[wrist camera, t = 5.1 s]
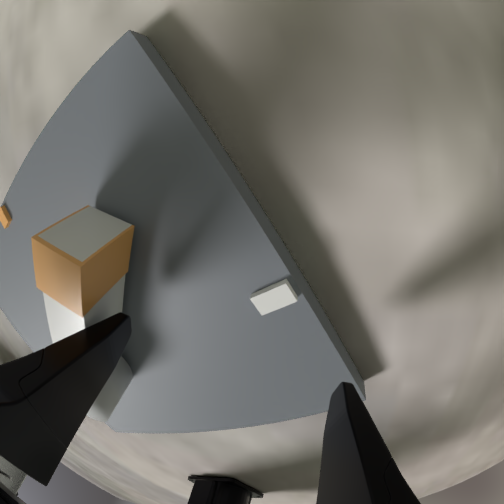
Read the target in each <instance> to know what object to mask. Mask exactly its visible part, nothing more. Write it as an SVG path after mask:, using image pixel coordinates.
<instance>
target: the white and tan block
mask: <svg viewBox="0 0 504 504" xmlns="http://www.w3.org/2000/svg"><path fill="white" fill-rule="evenodd" d="M134 227H135V226H134V225H132V224H129V223H127V222H125V221H123V220H120V219H118V218H116V217H114V216H111V215H109V214H107V213H105V212H102V211H100V210H98V209H96V208H94V207H91V206H89V205H87V206H85V207H84V208H82V209H80V210H78V211H76V212H74V213H72V214H70V215H69V216H67V217H65V218H63V219H61V220H60V221H58V222H56V223H54V224H53V225H51V226H49V227H47V228H46V229H44V230H42V231H41V232H39V233H37V234H36V235H34V236H32V237H31V241H32V253H33V263H34V272H35V280H36V287H37V288H38V289H40V290H41V291H42V292H43V296H44V303H45V308H46V314H47V319H48V324H49V329H50V334H51V338H52V342H53V343H55V342H57V341H59V340H62V339H64V338H66V337H68V336H70V335H72V334H74V333H76V332H79V331H81V330H83V329H85V328H87V327H89V326H91V325H93V324H96V323H98V322H100V321H102V320H104V319H106V318H108V317H110V316H113V315H115V314H117V313H119V312H122V308H123V295H124V284H125V275H126V273H127V272H128V268H129V260H130V253H131V246H132V239H133V233H134ZM132 378H133V374H132V370H131V368H130V366H129V365H128V363H127V362H126V361H125V359H124V358H123V357H122V356H121V357H120V359H119V361H118V363H117V365H116V367H115V369H114V371H113V372H112V374H111V376H110V377H109V379H108V380H107V382H106V384H105V385H104V387H103V388H102V390H101V392H100V393H99V395H98V397H97V398H96V400H95V401H94V403H93V405H92V406H91V408H90V410H89V411H88V413H87V415H86V416H88V417H90V418H92V419H94V420H97V421H100V422H106V421H108V419H109V418H110V416H111V414H112V412H113V411H114V409H115V407H116V406H117V404H118V402H119V401H120V399H121V397H122V395H123V394H124V392H125V390H126V389H127V387H128V385H129V384H130V382H131V380H132Z"/></svg>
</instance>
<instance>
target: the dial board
mask: <svg viewBox="0 0 504 504" xmlns="http://www.w3.org/2000/svg"><path fill="white" fill-rule="evenodd" d="M87 205H89V206H91V207H94V208H96V209H98V210H100V211H102V212H105V213H107V214H109V215H111V216H114V217H116V218H118V219H120V220H123V221H125V222H127V223H129V224H132V225H134V226H135V227H134V233H133V239H132V246H131V253H130V260H129V268H128V272H127V273H126V275H125V284H124V295H123V308H122V313H125V314H127V315H129V316H130V317H131V327H132V333H131V336H130V339H129V341H128V343H127V345H126V347H125V349H124V351H123V353H122V355H121V356H122V357H123V358H124V359H125V361H126V362H127V363H128V365H129V366H130V368H131V370H132V374H133V378H132V380H131V382H130V384H129V385H128V387H127V389H126V390H125V392H124V394H123V395H122V397H121V399H120V401H119V402H118V404H117V406H116V407H115V409H114V411H113V412H112V414H111V416H110V418H109V419H108V421H106V422H104V423H105V424H107V425H108V426H109V427H110V428H112V429H113V430H114V431H115V432H124V433H189V432H205V431H217V430H227V429H236V428H244V427H251V426H258V425H264V424H270V423H276V422H281V421H287V420H292V419H296V418H301V417H306V416H310V415H314V414H318V413H322V412H326V411H328V409H329V403H330V398H331V395H332V393H333V392H334V391H335V389H336V388H337V387H338V385H339V384H340V383H341V382H349V383H352V384H353V385H354V387H355V388H356V390H357V392H358V394H359V396H360V398H361V399H362V401H364V400H366V396H365V387H364V381H363V379H362V377H361V376H360V374H359V372H358V370H357V368H356V367H355V365H354V363H353V361H352V359H351V358H350V356H349V354H348V352H347V350H346V349H345V347H344V345H343V343H342V342H341V340H340V338H339V336H338V334H337V333H336V331H335V329H334V327H333V326H332V324H331V322H330V321H329V319H328V317H327V315H326V314H325V312H324V310H323V308H322V307H321V305H320V303H319V302H318V300H317V298H316V296H315V295H314V293H313V291H312V290H311V288H310V286H309V285H308V283H307V281H306V279H305V278H304V276H303V274H302V273H301V271H300V269H299V268H298V266H297V264H296V263H295V261H294V259H293V258H292V256H291V254H290V253H289V251H288V250H287V248H286V246H285V245H284V243H283V241H282V240H281V238H280V236H279V235H278V233H277V232H276V230H275V228H274V227H273V225H272V223H271V222H270V220H269V219H268V217H267V215H266V214H265V212H264V211H263V209H262V207H261V206H260V204H259V203H258V201H257V199H256V198H255V196H254V195H253V193H252V192H251V190H250V188H249V187H248V185H247V184H246V182H245V181H244V179H243V177H242V176H241V174H240V173H239V171H238V170H237V168H236V167H235V165H234V163H233V162H232V160H231V159H230V157H229V156H228V154H227V153H226V151H225V150H224V148H223V147H222V145H221V144H220V142H219V140H218V139H217V137H216V136H215V134H214V133H213V131H212V130H211V128H210V127H209V125H208V124H207V122H206V121H205V119H204V118H203V116H202V115H201V113H200V112H199V111H198V109H197V108H196V106H195V105H194V103H193V102H192V100H191V99H190V97H189V96H188V94H187V93H186V91H185V90H184V89H183V87H182V86H181V84H180V83H179V81H178V80H177V78H176V77H175V76H174V74H173V73H172V71H171V70H170V68H169V67H168V66H167V64H166V63H165V61H164V60H163V59H162V57H161V56H160V54H159V53H158V52H157V50H156V49H155V47H154V46H153V45H152V43H151V42H150V40H149V39H148V38H147V36H144V35H142V34H139V33H137V32H134V31H131V30H128V31H127V32H126V33H125V34H124V35H123V36H122V37H121V38H120V39H119V40H118V41H117V42H116V43H115V44H114V45H113V46H111V47H110V48H109V49H108V50H107V51H106V53H105V54H104V55H103V56H102V57H101V58H100V59H99V60H98V61H97V62H96V63H95V64H94V65H93V66H92V67H91V68H90V70H89V71H88V72H87V73H86V74H85V75H84V76H83V78H82V79H81V80H80V81H79V82H78V84H77V85H76V86H75V87H74V88H73V90H72V91H71V92H70V93H69V95H68V96H67V97H66V98H65V100H64V101H63V102H62V104H61V105H60V106H59V108H58V109H57V110H56V112H55V113H54V115H53V116H52V117H51V119H50V120H49V122H48V123H47V125H46V126H45V128H44V129H43V131H42V132H41V134H40V135H39V137H38V138H37V140H36V142H35V143H34V145H33V146H32V148H31V150H30V151H29V153H28V155H27V156H26V158H25V160H24V162H23V163H22V165H21V167H20V169H19V171H18V173H17V175H16V176H15V178H14V180H13V182H12V184H11V186H10V188H9V190H8V192H7V195H6V197H5V199H4V201H3V203H2V205H1V207H0V308H1V310H2V311H3V313H4V314H5V316H6V317H7V318H8V320H9V321H10V323H11V324H12V325H13V327H14V328H15V329H16V331H17V332H18V333H19V335H20V336H21V337H22V339H23V340H24V341H25V342H26V344H27V345H28V346H29V347H30V349H31V350H32V351H33V352H36V351H38V350H40V349H42V348H44V349H45V347H47V346H49V345H51V344H53V342H52V338H51V334H50V329H49V324H48V319H47V314H46V308H45V303H44V296H43V292H42V291H41V290H40V289H38V288H37V287H36V280H35V272H34V263H33V253H32V241H31V237H32V236H34V235H36V234H37V233H39V232H41V231H42V230H44V229H46V228H47V227H49V226H51V225H53V224H54V223H56V222H58V221H60V220H61V219H63V218H65V217H67V216H69V215H70V214H72V213H74V212H76V211H78V210H80V209H82V208H84V207H85V206H87Z"/></svg>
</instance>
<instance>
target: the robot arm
mask: <svg viewBox="0 0 504 504" xmlns="http://www.w3.org/2000/svg"><path fill="white" fill-rule="evenodd" d="M131 333H132V327H131V317H130V316H129V315H127V314H125V313H122V312H119V313H117V314H115V315H113V316H110V317H108V318H106V319H104V320H102V321H100V322H98V323H96V324H93V325H91V326H89V327H87V328H85V329H83V330H81V331H79V332H76V333H74V334H72V335H70V336H68V337H66V338H64V339H62V340H59V341H57V342H55V343H53V344H51V345H49V346H47V347H45V349H44V348H42V349H40V350H38V351H36V352H34V353H31V354H29V355H27V356H24V357H22V358H19V359H16V360H14V361H11V362H8V363H5V364H2V365H0V504H26V503H25V502H23V501H22V500H21V499H20V498H19V497H17V495H18V490H19V488H20V486H21V485H22V483H23V481H24V479H25V477H26V476H27V475H28V476H30V477H32V478H33V479H35V480H36V481H38V482H40V483H41V484H43V485H45V486H47V485H48V483H49V481H50V479H51V477H52V475H53V474H54V472H55V470H56V468H57V466H58V464H59V462H60V461H61V459H62V457H63V455H64V453H65V451H66V450H67V448H68V446H69V444H70V442H71V441H72V439H73V437H74V435H75V434H76V432H77V430H78V428H79V427H80V425H81V423H82V422H83V420H84V418H85V416H86V415H87V413H88V411H89V410H90V408H91V406H92V405H93V403H94V401H95V400H96V398H97V397H98V395H99V393H100V392H101V390H102V388H103V387H104V385H105V384H106V382H107V380H108V379H109V377H110V376H111V374H112V372H113V371H114V369H115V367H116V365H117V363H118V361H119V359H120V357H121V355H122V353H123V351H124V349H125V347H126V345H127V343H128V341H129V339H130V336H131ZM391 457H392V456H391V454H390V452H389V450H388V448H387V446H386V444H385V442H384V440H383V439H382V437H381V435H380V433H379V431H378V429H377V427H376V425H375V424H374V422H373V420H372V418H371V416H370V414H369V412H368V411H367V409H366V407H365V405H364V403H363V401H362V399H361V398H360V396H359V394H358V392H357V390H356V388H355V387H354V385H353V384H352V383H349V382H341V383H340V384H339V385H338V387H337V388H336V389H335V391H334V392H333V393H332V395H331V398H330V403H329V409H328V414H327V420H326V425H325V430H324V437H323V449H322V460H321V470H320V479H319V487H318V495H317V503H316V504H421V503H420V502H419V501H418V499H417V497H416V496H415V494H414V493H413V491H412V490H411V488H410V487H409V485H408V484H407V482H406V481H405V479H404V478H403V476H402V474H401V472H400V471H399V469H398V467H397V465H396V463H395V461H394V459H393V458H391ZM188 480H189V481H191V482H193V483H194V486H193V489H192V492H191V495H190V498H189V501H188V504H250V502H251V498H263V495H264V494H262V493H260V492H258V491H256V490H254V489H252V488H250V487H248V486H246V485H244V484H242V483H241V482H239V481H237V480H235V479H232V478H210V477H194V476H189V477H188Z"/></svg>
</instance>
